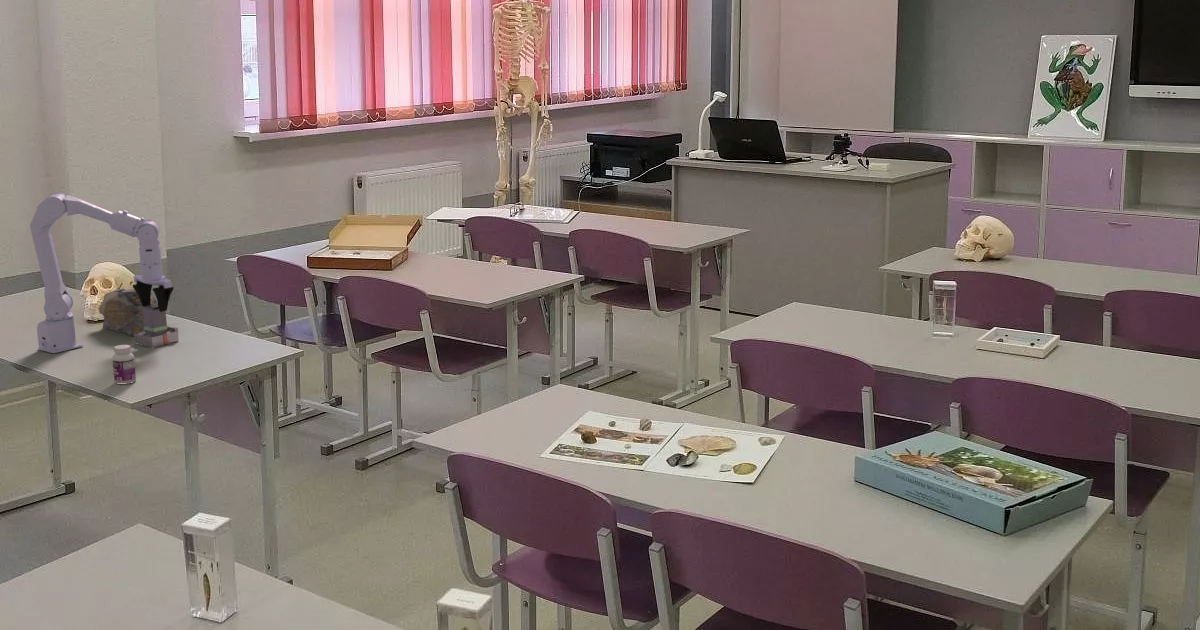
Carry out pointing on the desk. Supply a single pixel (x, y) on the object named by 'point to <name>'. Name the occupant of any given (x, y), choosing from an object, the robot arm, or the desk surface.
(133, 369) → the pill bottle
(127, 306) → the fossil rock
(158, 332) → the grey rectangular block
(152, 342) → the stand block
